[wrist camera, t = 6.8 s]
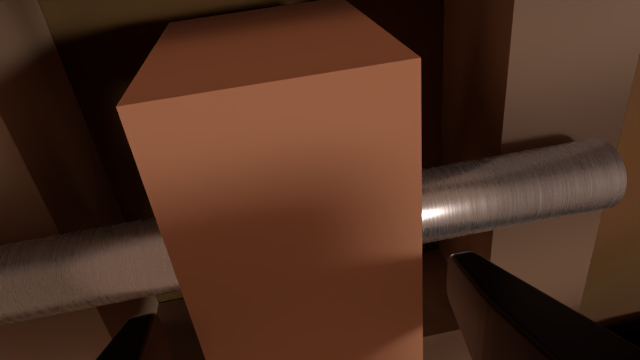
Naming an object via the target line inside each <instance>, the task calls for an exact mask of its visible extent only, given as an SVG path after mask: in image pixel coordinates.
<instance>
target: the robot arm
mask: <svg viewBox="0 0 640 360" xmlns="http://www.w3.org/2000/svg"><path fill="white" fill-rule="evenodd" d="M447 295H448V299H449V302H450V305H451V307H452V310H453V312H454V315H455V317H456V320H457V323H458V325H459V328H460V330H461V333H462V335H463V338H464V340H465V343H466V346H467V348H468V351H469V353H470V356H471V358H472V360H640V322H638V323H633V324H629V325H624V326H619V327H615V328H610V329H606V328H604V327H602V326H601V325H599V324H597V323H596V322H594V321H592V320H590V319H589V318H587V317H585V316H583V315H582V314H580V313H578V312H577V311H575V310H573V309H571V308H570V307H568V306H566V305H565V304H563V303H561V302H559V301H558V300H556V299H554V298H552V297H551V296H549V295H547V294H546V293H544V292H542V291H540V290H539V289H537V288H535V287H534V286H532V285H530V284H528V283H527V282H525V281H523V280H521V279H520V278H518V277H516V276H515V275H513V274H511V273H509V272H508V271H506V270H504V269H503V268H501V267H499V266H497V265H496V264H494V263H492V262H490V261H489V260H487V259H485V258H484V257H482V256H480V255H478V254H477V253H475V252H472V251H465V252H460V253H455V254H451V255H450V256H449V258H448V262H447ZM95 360H172V350H171V345H170V342H169V340H168V338H167V335H166V333H165V330H164V328H163V325H162V323H161V320H160V318H159V316H158V315H157V314H156V313H153V312H151V313H146V314H141V315H136V316H133V317H131V318H130V319H129V320H128V321H127V322H126V323H125V324H124V325H123V327H122V328H121V329H120V330H119V332H118V333H117V334H116V335H115V336H114V338H113V339H112V340H111V341H110V342H109V344H108V345H107V346H106V347H105V348H104V350H103V351H102V352H101V353H100V355H99V356H98V357H97V358H96V359H95Z"/></svg>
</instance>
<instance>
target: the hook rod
mask: <svg viewBox="0 0 640 360" xmlns="http://www.w3.org/2000/svg"><path fill="white" fill-rule="evenodd" d="M626 183H627V180H626V171H625V167H624V163H623V161H622V159H621V157H620V155H619V153H618V152H617V150H616V149H615V148H614V147H613V146H612V145H611V144H610V143H609V142H608V141H606V140H604V139H601V138H591V139H586V140H580V141H575V142H569V143H564V144H558V145H553V146H547V147H542V148H536V149H530V150H525V151H519V152H514V153H508V154H503V155H497V156H492V157H486V158H481V159H475V160H470V161H464V162H458V163H453V164H447V165H442V166H436V167H431V168H425V169H422V244H424V243H429V242H434V241H439V240H444V239H450V238H455V237H460V236H465V235H470V234H476V233H481V232H486V231H491V230H496V229H502V228H507V227H512V226H517V225H522V224H527V223H533V222H538V221H543V220H548V219H553V218H559V217H564V216H569V215H574V214H579V213H584V212H590V211H595V210H600V209H605V208H610V207H614V206H616V205H617V204H618V203H619V202H620V201H621V200H622V198H623V196H624V194H625V190H626ZM180 290H181V289H180V286H179V283H178V280H177V278H176V275H175V272H174V269H173V266H172V264H171V261H170V258H169V255H168V252H167V249H166V247H165V244H164V241H163V238H162V235H161V232H160V230H159V227H158V224H157V221H156V218H155V217H153V218H148V219H142V220H137V221H131V222H126V223H120V224H115V225H109V226H104V227H98V228H93V229H87V230H81V231H76V232H70V233H65V234H59V235H54V236H48V237H43V238H37V239H32V240H26V241H20V242H15V243H9V244H4V245H0V325H4V324H9V323H14V322H19V321H25V320H30V319H35V318H40V317H45V316H50V315H56V314H61V313H66V312H71V311H76V310H82V309H87V308H92V307H97V306H102V305H107V304H113V303H118V302H123V301H128V300H133V299H139V298H144V297H149V296H154V295H159V294H165V293H170V292H175V291H180Z"/></svg>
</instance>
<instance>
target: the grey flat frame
mask: <svg viewBox="0 0 640 360" xmlns="http://www.w3.org/2000/svg"><path fill="white" fill-rule="evenodd" d="M639 53H640V0H444V21H443V72H442V123H441V166H442V165H447V164H453V163H458V162H464V161H470V160H475V159H481V158H486V157H492V156H497V155H503V154H508V153H514V152H519V151H525V150H530V149H536V148H542V147H547V146H553V145H558V144H564V143H569V142H575V141H580V140H586V139H591V138H601V139H604V140H606V141H608V142H609V143H610V144H611V145H612V146H613V147H614V148H615V149H616V150H617V147H618V143H619V138H620V134H621V130H622V126H623V121H624V117H625V113H626V109H627V104H628V100H629V96H630V92H631V87H632V83H633V79H634V74H635V70H636V66H637V62H638V57H639ZM602 211H603V209H600V210H595V211H590V212H584V213H579V214H574V215H569V216H564V217H559V218H553V219H548V220H543V221H538V222H533V223H527V224H522V225H517V226H512V227H507V228H502V229H496V230H491V231H486V232H481V233H476V234H470V235H465V236H460V237H455V238H450V239H444V240H439V249H435V250H430V251H425V252H422V289H423V360H472V358H471V356H470V353H469V351H468V348H467V346H466V343H465V340H464V338H463V335H462V333H461V330H460V328H459V325H458V323H457V320H456V317H455V315H454V312H453V310H452V307H451V305H450V302H449V299H448V295H447V262H448V258H449V256H450V255H451V254H455V253H460V252H465V251H472V252H475V253H477V254H478V255H480V256H482V257H484V258H485V259H487V260H489V261H490V262H492V263H494V264H496V265H497V266H499V267H501V268H503V269H504V270H506V271H508V272H509V273H511V274H513V275H515V276H516V277H518V278H520V279H521V280H523V281H525V282H527V283H528V284H530V285H532V286H534V287H535V288H537V289H539V290H540V291H542V292H544V293H546V294H547V295H549V296H551V297H552V298H554V299H556V300H558V301H559V302H561V303H563V304H565V305H566V306H568V307H570V308H571V309H573V310H575V311H577V312H578V313H579V309H580V305H581V300H582V296H583V292H584V288H585V283H586V279H587V275H588V271H589V266H590V262H591V258H592V254H593V249H594V245H595V241H596V236H597V232H598V228H599V224H600V219H601V215H602ZM120 223H126V221H125V218H124V216H123V213H122V211H121V208H120V206H119V203H118V201H117V198H116V196H115V193H114V191H113V188H112V186H111V183H110V181H109V178H108V176H107V173H106V171H105V168H104V166H103V163H102V161H101V158H100V156H99V153H98V151H97V148H96V146H95V143H94V141H93V138H92V136H91V133H90V131H89V128H88V126H87V123H86V121H85V118H84V116H83V113H82V111H81V108H80V106H79V103H78V101H77V98H76V96H75V93H74V91H73V88H72V86H71V83H70V81H69V78H68V76H67V73H66V71H65V68H64V66H63V63H62V61H61V58H60V56H59V53H58V51H57V48H56V46H55V43H54V41H53V38H52V36H51V33H50V31H49V28H48V26H47V23H46V21H45V18H44V16H43V13H42V11H41V8H40V6H39V3H38V1H37V0H0V245H4V244H9V243H15V242H20V241H26V240H32V239H37V238H43V237H48V236H54V235H59V234H65V233H70V232H76V231H81V230H87V229H93V228H98V227H104V226H109V225H115V224H120ZM151 312H153V313H156V314H157V315H158V316H159V318H160V320H161V323H162V325H163V328H164V330H165V333H166V335H167V338H168V340H169V342H170V345H171V350H172V360H206V359H205V357H204V354H203V351H202V348H201V345H200V343H199V340H198V337H197V334H196V331H195V328H194V326H193V323H192V320H191V317H190V314H189V312H188V309H187V306H186V303H185V300H184V298H183V299H178V300H173V301H168V302H162V303H158V300H157V298H156V295H154V296H149V297H144V298H139V299H133V300H128V301H123V302H118V303H113V304H107V305H102V306H97V307H92V308H87V309H82V310H76V311H71V312H66V313H61V314H56V315H50V316H45V317H40V318H35V319H30V320H25V321H19V322H14V323H9V324H4V325H0V360H95V359H96V358H97V357H98V356H99V355H100V353H101V352H102V351H103V350H104V348H105V347H106V346H107V345H108V344H109V342H110V341H111V340H112V339H113V338H114V336H115V335H116V334H117V333H118V332H119V330H120V329H121V328H122V327H123V325H124V324H125V323H126V322H127V321H128V320H129V319H130V318H131V317H133V316H136V315H141V314H146V313H151Z"/></svg>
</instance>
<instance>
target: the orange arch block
mask: <svg viewBox="0 0 640 360" xmlns="http://www.w3.org/2000/svg"><path fill="white" fill-rule="evenodd" d="M116 108H117V111H118V114H119V117H120V120H121V122H122V125H123V128H124V131H125V134H126V137H127V139H128V142H129V145H130V148H131V151H132V153H133V156H134V159H135V162H136V165H137V168H138V170H139V173H140V176H141V179H142V182H143V185H144V187H145V190H146V193H147V196H148V199H149V201H150V204H151V207H152V210H153V213H154V216H155V218H156V221H157V224H158V227H159V230H160V232H161V235H162V238H163V241H164V244H165V247H166V249H167V252H168V255H169V258H170V261H171V264H172V266H173V269H174V272H175V275H176V278H177V280H178V283H179V286H180V289H181V292H182V295H183V297H184V300H185V303H186V306H187V309H188V312H189V314H190V317H191V320H192V323H193V326H194V328H195V331H196V334H197V337H198V340H199V343H200V345H201V348H202V351H203V354H204V357H205V359H206V360H423V289H422V130H421V57H420V56H418V55H417V54H416V53H414V52H413V51H412V50H410V49H409V48H408V47H406V46H405V45H404V44H403V43H401V42H400V41H399V40H397V39H396V38H395V37H393V36H392V35H391V34H389V33H388V32H387V31H385V30H384V29H383V28H382V27H380V26H379V25H378V24H376V23H375V22H374V21H372V20H371V19H370V18H368V17H367V16H366V15H365V14H363V13H362V12H361V11H359V10H358V9H357V8H355V7H354V6H353V5H351V4H350V3H349V2H347V1H346V0H317V1H310V2H303V3H297V4H290V5H283V6H276V7H270V8H263V9H256V10H249V11H243V12H236V13H229V14H223V15H216V16H209V17H202V18H196V19H189V20H182V21H175V22H169V24H168V25H167V27H166V28H165V30H164V32H163V33H162V35H161V36H160V38H159V40H158V41H157V43H156V44H155V46H154V47H153V49H152V51H151V52H150V54H149V55H148V57H147V58H146V60H145V62H144V63H143V65H142V66H141V68H140V70H139V71H138V73H137V74H136V76H135V77H134V79H133V81H132V82H131V84H130V85H129V87H128V88H127V90H126V92H125V93H124V95H123V96H122V98H121V99H120V101H119V103H118V104H117V106H116Z"/></svg>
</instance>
